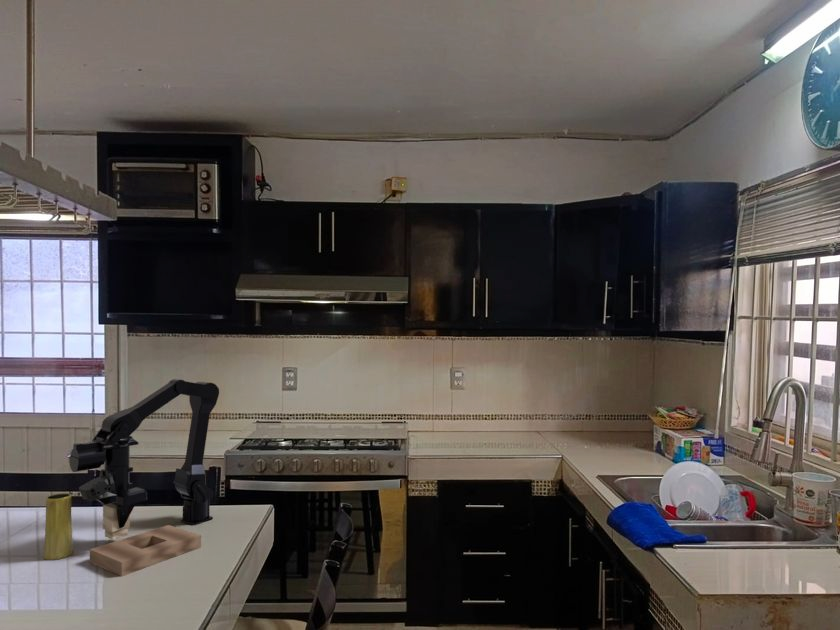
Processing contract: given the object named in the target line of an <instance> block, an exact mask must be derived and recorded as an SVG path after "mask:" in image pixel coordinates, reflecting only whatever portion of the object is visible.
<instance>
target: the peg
mask: <svg viewBox="0 0 840 630" xmlns="http://www.w3.org/2000/svg"><path fill="white" fill-rule="evenodd" d="M130 519H131V515H130V516H129V518H128V520H127V522H126V524H125V526H124V527H122V528H119V524H118V517H117V508H116V507H114V506H113V505H112V504H111V503H110V504H106V505H102V529H103V530H104V537H105V538H108V539H110V540H116V539H118V538H121V537H125V536H128V534H129V533H128V532H129V531H128V528H130V526H131V520H130Z"/></svg>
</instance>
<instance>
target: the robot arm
mask: <svg viewBox="0 0 840 630" xmlns="http://www.w3.org/2000/svg"><path fill="white" fill-rule="evenodd" d="M180 395H183V396H188V397H189V400H188V401H189V406H190V409H191V412H192V414H191V421H190V426H189V433H188V440H187V447H186V454H185V458H184V459H185V460H184V463H183V464H182V466H181V467H180V468H176V469H175V476H174V480H173V482H172V483H173V484H175V485H174V487H175V490H176V491H177V492H178V493H180V497H181V498H183V499H184V500H183V505H182V518H181V519H180V522H183V523H185V524H186V523H187V524H189V525H193V526H194V525H197V524H201V523H205V522H207V521H210V520H213V516H211V515H210V508H211V507H210V506H211V505H210V502H211V501H210V500H213V497H214V494H215V491H214V490H213V489H211V487H210V486H208V485H207V483H206V482H207V479H206V477H207V475H206V471H205V466H204V464H203V463H204V458H205V457H204V456H205V450H206V442H207V437H208V436H207V435H208V430H209V423H210V416H211V413H212V411H213V409H214V408H215V407H216V405H217V403H218V399H219V396H220V389H219V387H218V386H217V384H216V383H214V382H208V381H207V382H206V381H197V382H192V381H186V380H184V379H176V378H174V379H171V380H169V381H168V383H166V384H164V385H163V386H162V387H160V388H159V389H157V390H156V391H154V392H152V394H150V395H148V396H147V397H145V398H143V399H142V400H141V401H139V402H138V403H136V404H135V405H133V406H130V407H128V408H124V409H122V410H120V411H117V412H114V413H112V414H111V415H108V416H107V417H105V418H104V419H103V421H102V424H101V428H100V429H99V430H98V431H97V433H96V434H95V436H93V438H92V440H91V441H90V442H89V441H87V442H76V443H73V444H72V445H73V446H72V448H73V449H71V450H70V454H69V457H68V460H69V462H68V463H69V467H70V469H71V470H70V471H71V472H72V473H78V472H83V471H88V470H94V469H99V468H101V467H102V466H103V465H104V468H102V469H100V471H99V476H98V477H97V476H96V478H93V479H91V480H89V481H87V482H86V483H84V484H82V485H80V486H79V487H78V490H79V493H80V495H81V498H82V500H85V501H88V502H93V501H97V502H99V503H100V504H101V505H102V506H103V505H106V504H110V503H111V504H112V505H113V506H114V507H116V508H117V517H118V524H119V528H122V527H124V526H125V524H126V522H127V520H128V518H129V516H130V517H131V513H132V512H133V510H134V508H135V506H136V505H137V503H140V502H144V501H147V500H148V491H147V490H146V489H144V488H141V487H137V486H136V487H134V485H133V484H134V483H133V482H130V473H133V472H134V467H133V466H130V464H131V463H130V460H131V459H130V453H131V452H130V451H131V450H130V448H131V447H132V446H138V445H139V441H137V440H135V439H134V438H133V436H132V434H133V433H134V432H135V431H136V430H137V429H138V428H139V427H140V426H141V424H142V422H143V421H145V419H147V418H148V417H149V416H151V415H153V413H155V412H157V411H158V410H160V409H161V408H163V407H164V406H165V405H167V404H168V403H170V402H171V401H173V400H174V399H175V398H176V399H177V397H178V396H180Z"/></svg>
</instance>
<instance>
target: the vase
mask: <svg viewBox="0 0 840 630" xmlns="http://www.w3.org/2000/svg"><path fill="white" fill-rule="evenodd" d="M72 496H73V495H72V494H71V493H70V492H69V493H68V492H64V493H63V492H62V493H60V492H59V493H55V494H51V495H49V496H46V499H45V527H44V531H45V532H44V544H43V556H42V558H43V559H44V560H47V561H48V560H49V561H54V560H60V559H64V558H67V557H70V556H71V555H72V554H73V553H74V549H73V528H72V527H73V526H72V525H73V523H72Z"/></svg>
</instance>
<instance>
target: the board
mask: <svg viewBox="0 0 840 630" xmlns="http://www.w3.org/2000/svg"><path fill="white" fill-rule="evenodd" d="M199 548H202V534H198V533H196V532H192V531H188V530H187V529H186V530H185V529H183V528H179V527H176V526H172V525H170V524H167V525H164V526H160V527H157V528H154V529H150V530H148V531H145V532H142V533H138V534H134V535H131V536H128V537H125V538H123V539H119V540H116V541H113V542H109V543H106V544H103V545H100V546H96V547H94V548H93V547H92V548H90V549H89V563H90V564H93V565H95V566H98V567H100V568H101V569H104V570H106V571H108V572H111V573H113V574H116V575H118V576H120V577H123V576H127V575H129V574H131V573H134V572H137V571H139V570H143V569H146V568H148V567H151V566H155V565H156V564H159V563H162V562H164V561H167V560H169V559H173V558H176V557H178V556H180V555H183V554H187V553H189V552H192V551H195V550H197V549H199Z"/></svg>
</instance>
